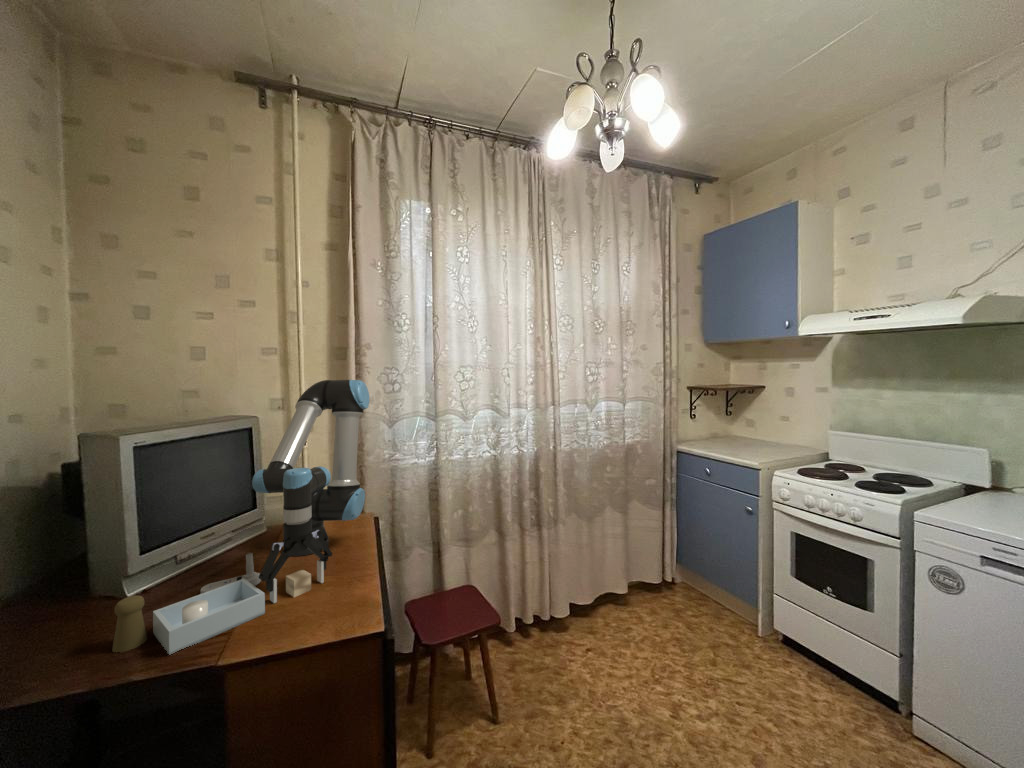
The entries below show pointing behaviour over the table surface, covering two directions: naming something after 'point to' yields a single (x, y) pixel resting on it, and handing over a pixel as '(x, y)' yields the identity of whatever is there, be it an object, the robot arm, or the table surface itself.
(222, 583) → the electronic device
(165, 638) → the tote
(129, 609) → the cork
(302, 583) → the beech cube
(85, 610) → the table surface
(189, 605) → the white egg
